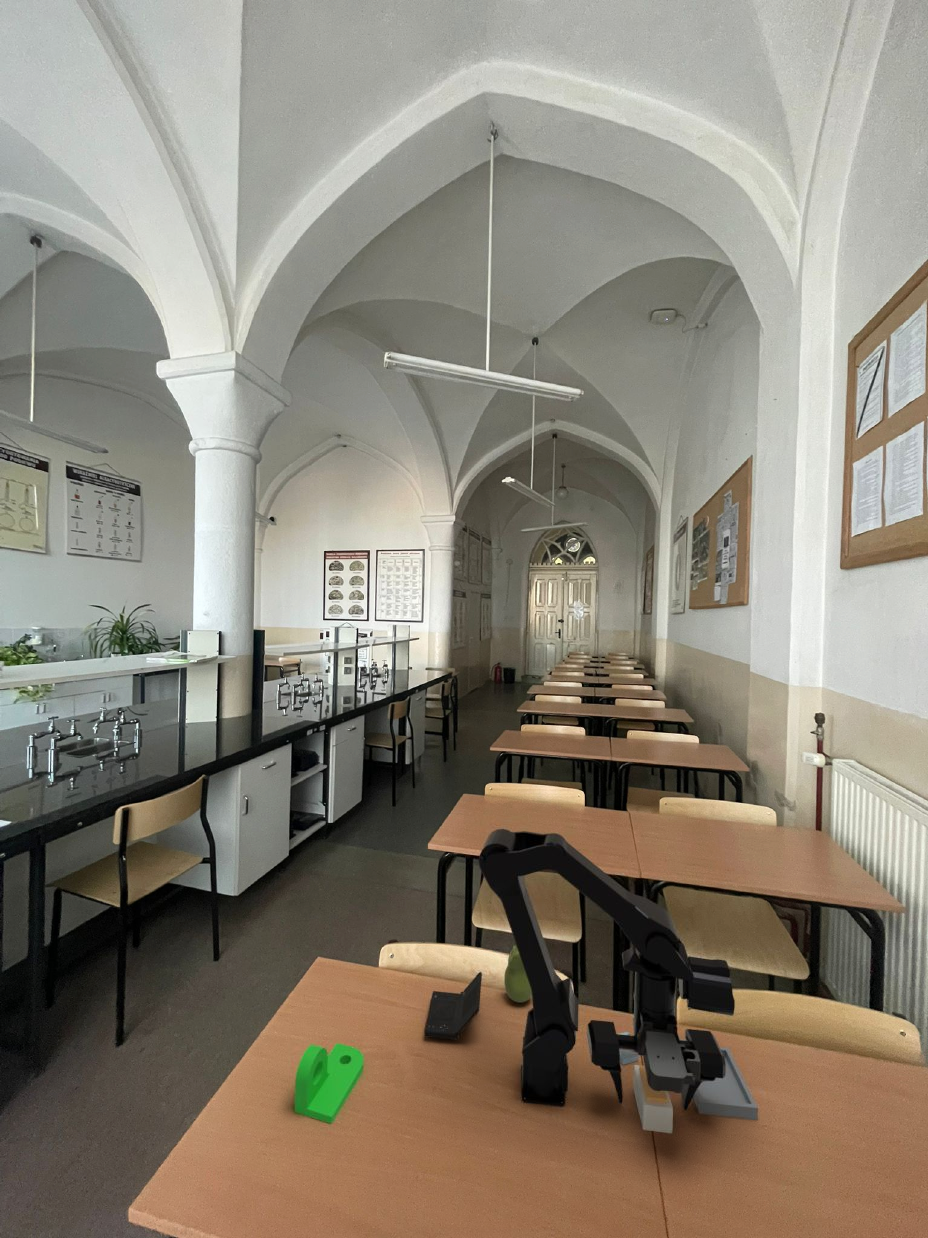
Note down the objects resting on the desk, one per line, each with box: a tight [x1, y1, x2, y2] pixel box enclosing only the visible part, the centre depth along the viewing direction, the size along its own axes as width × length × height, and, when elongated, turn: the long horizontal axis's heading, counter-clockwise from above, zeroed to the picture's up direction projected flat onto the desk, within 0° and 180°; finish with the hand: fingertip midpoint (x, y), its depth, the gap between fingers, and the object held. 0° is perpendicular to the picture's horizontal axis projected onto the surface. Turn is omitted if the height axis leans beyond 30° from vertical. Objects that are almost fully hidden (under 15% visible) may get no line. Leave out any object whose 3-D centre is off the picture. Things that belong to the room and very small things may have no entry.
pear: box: [503, 944, 532, 1003], centre depth 104 cm, size 6×5×10 cm
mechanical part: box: [294, 1042, 365, 1125], centre depth 83 cm, size 12×6×8 cm, turn 164°
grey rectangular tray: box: [692, 1046, 759, 1121], centre depth 85 cm, size 8×11×2 cm
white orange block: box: [633, 1064, 674, 1134], centre depth 81 cm, size 4×7×5 cm, turn 173°
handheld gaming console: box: [423, 971, 483, 1041], centre depth 98 cm, size 12×7×10 cm
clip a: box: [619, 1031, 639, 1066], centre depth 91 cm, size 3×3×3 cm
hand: (652, 1104), depth 81 cm, fingers open, 9 cm apart
